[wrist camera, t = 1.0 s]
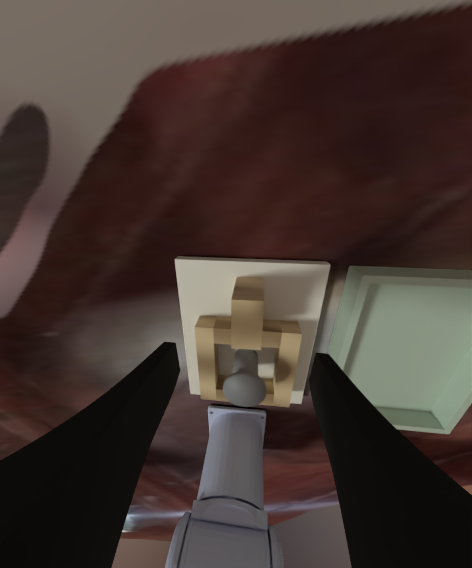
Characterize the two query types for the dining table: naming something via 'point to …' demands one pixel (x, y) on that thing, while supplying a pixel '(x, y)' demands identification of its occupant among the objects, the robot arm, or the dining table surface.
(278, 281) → the board
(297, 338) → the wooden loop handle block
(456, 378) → the tray
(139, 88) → the dining table surface
